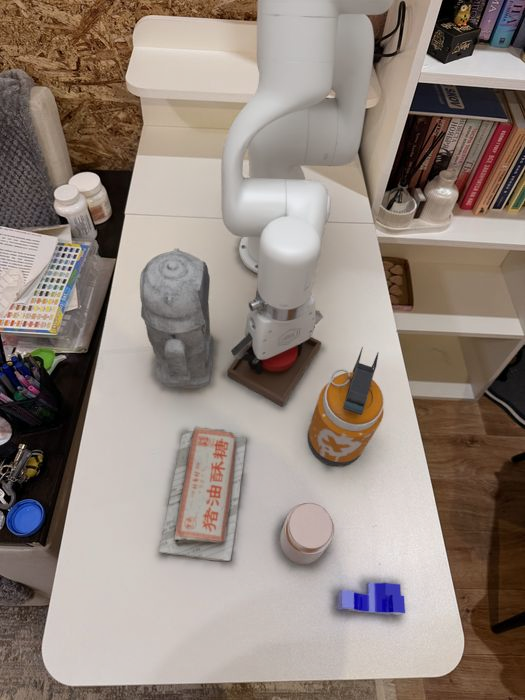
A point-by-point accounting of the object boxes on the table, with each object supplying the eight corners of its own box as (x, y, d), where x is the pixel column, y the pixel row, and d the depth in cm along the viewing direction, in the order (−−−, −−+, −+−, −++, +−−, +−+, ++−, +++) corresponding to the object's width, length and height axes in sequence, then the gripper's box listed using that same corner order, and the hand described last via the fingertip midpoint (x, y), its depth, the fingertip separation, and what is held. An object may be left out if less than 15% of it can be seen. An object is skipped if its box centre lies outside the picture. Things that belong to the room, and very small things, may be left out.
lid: (297, 372, 83) (298, 367, 82) (253, 371, 83) (253, 365, 82) (296, 335, 87) (297, 329, 85) (254, 333, 87) (255, 328, 85)
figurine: (216, 327, 90) (210, 225, 69) (210, 399, 83) (201, 311, 62) (161, 324, 90) (137, 221, 69) (150, 397, 83) (120, 307, 61)
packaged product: (180, 420, 76) (247, 428, 76) (183, 432, 80) (246, 440, 80) (155, 548, 66) (230, 557, 66) (159, 554, 71) (231, 563, 71)
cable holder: (395, 586, 70) (403, 583, 66) (396, 615, 68) (405, 613, 65) (337, 581, 70) (342, 577, 66) (336, 609, 68) (342, 607, 65)
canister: (299, 455, 79) (317, 399, 62) (320, 395, 84) (341, 328, 67) (355, 475, 78) (389, 424, 60) (372, 413, 83) (408, 350, 66)
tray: (267, 321, 92) (268, 314, 90) (319, 348, 89) (321, 342, 87) (227, 376, 85) (227, 370, 84) (282, 407, 83) (283, 401, 81)
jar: (293, 508, 75) (300, 490, 66) (332, 532, 73) (344, 516, 65) (271, 548, 72) (276, 534, 64) (311, 573, 70) (321, 562, 62)
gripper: (240, 340, 67) (239, 397, 83) (349, 291, 72) (329, 354, 87) (215, 298, 70) (219, 361, 86) (321, 255, 75) (307, 321, 91)
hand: (275, 357), depth 86 cm, fingers closed on lid, 7 cm apart
